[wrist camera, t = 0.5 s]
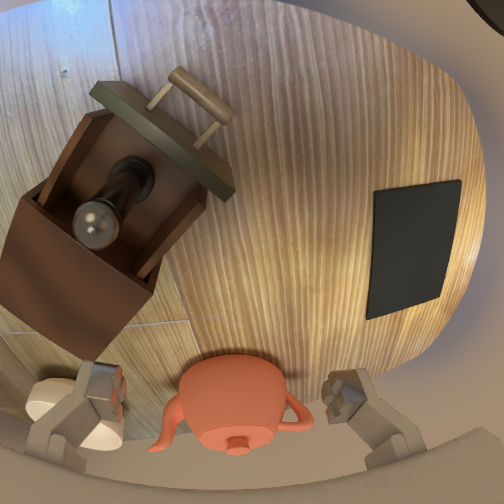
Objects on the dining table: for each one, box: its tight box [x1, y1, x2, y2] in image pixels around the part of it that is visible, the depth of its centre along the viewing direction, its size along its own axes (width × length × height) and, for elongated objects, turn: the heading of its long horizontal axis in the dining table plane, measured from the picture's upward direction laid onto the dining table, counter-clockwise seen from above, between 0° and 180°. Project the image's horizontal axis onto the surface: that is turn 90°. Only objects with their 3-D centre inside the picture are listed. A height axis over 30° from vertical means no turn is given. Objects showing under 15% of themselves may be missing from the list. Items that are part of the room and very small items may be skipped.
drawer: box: [37, 66, 236, 280], centre depth 23 cm, size 18×13×7 cm
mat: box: [366, 180, 462, 320], centre depth 36 cm, size 20×14×1 cm
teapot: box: [147, 354, 314, 455], centre depth 40 cm, size 25×17×13 cm
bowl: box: [26, 378, 124, 450], centre depth 43 cm, size 20×20×8 cm
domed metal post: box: [72, 156, 155, 250], centre depth 21 cm, size 4×4×12 cm
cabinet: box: [0, 177, 163, 361], centre depth 27 cm, size 15×15×9 cm
